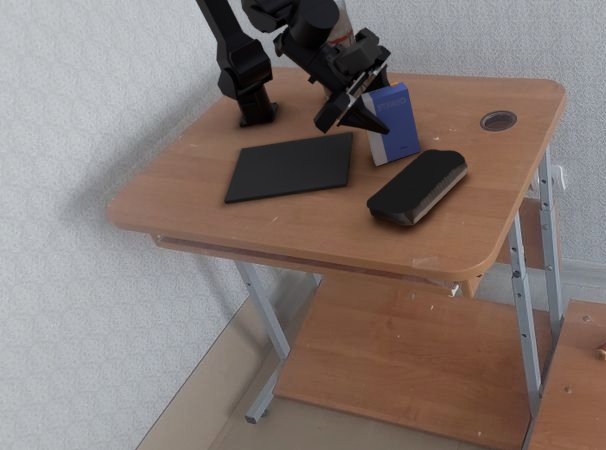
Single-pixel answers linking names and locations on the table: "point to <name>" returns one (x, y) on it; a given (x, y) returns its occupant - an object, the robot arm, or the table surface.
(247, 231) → the table surface
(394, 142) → the walkman
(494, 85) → the table surface
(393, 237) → the table surface
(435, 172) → the black sponge
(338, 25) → the beige cylindrical container
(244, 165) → the mat
